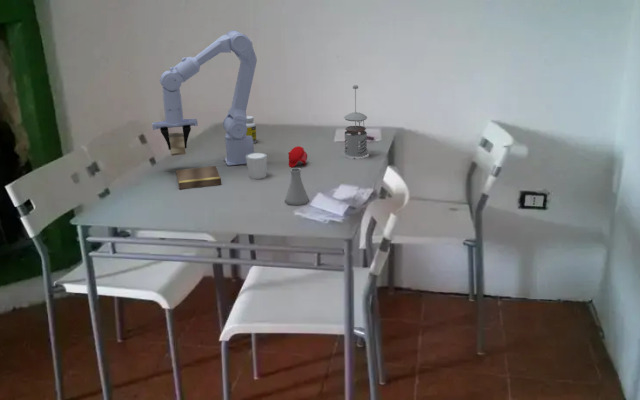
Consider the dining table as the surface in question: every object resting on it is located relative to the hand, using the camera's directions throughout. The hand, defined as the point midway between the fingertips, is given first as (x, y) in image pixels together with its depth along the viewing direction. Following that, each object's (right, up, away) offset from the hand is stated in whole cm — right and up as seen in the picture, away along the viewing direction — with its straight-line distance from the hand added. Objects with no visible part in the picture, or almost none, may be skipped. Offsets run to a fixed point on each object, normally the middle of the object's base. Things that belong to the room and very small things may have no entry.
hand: (177, 148), depth 224 cm
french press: (+61, -1, +14) cm, 62 cm away
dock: (+8, -11, -8) cm, 16 cm away
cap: (+40, -6, +5) cm, 41 cm away
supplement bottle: (+21, +4, +31) cm, 38 cm away
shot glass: (+27, -10, -5) cm, 29 cm away
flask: (+41, -18, -27) cm, 52 cm away
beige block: (0, -1, +1) cm, 1 cm away
